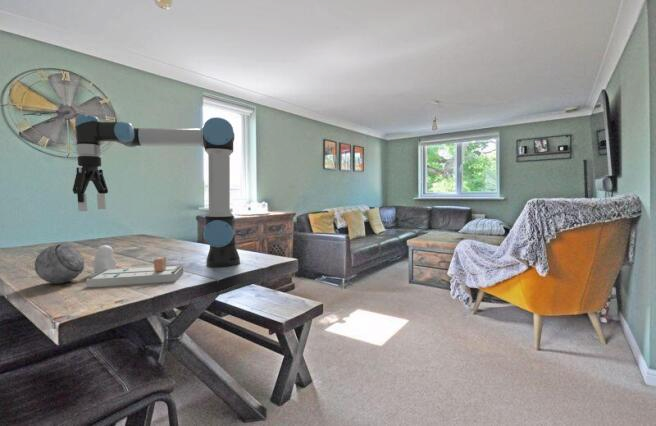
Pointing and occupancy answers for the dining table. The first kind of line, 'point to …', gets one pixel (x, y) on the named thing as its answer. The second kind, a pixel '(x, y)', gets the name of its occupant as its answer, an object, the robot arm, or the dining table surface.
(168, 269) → the board
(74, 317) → the dining table surface
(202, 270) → the dining table surface
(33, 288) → the dining table surface
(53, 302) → the dining table surface
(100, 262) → the figurine
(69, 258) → the grey rounded lump
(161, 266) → the fader knob
